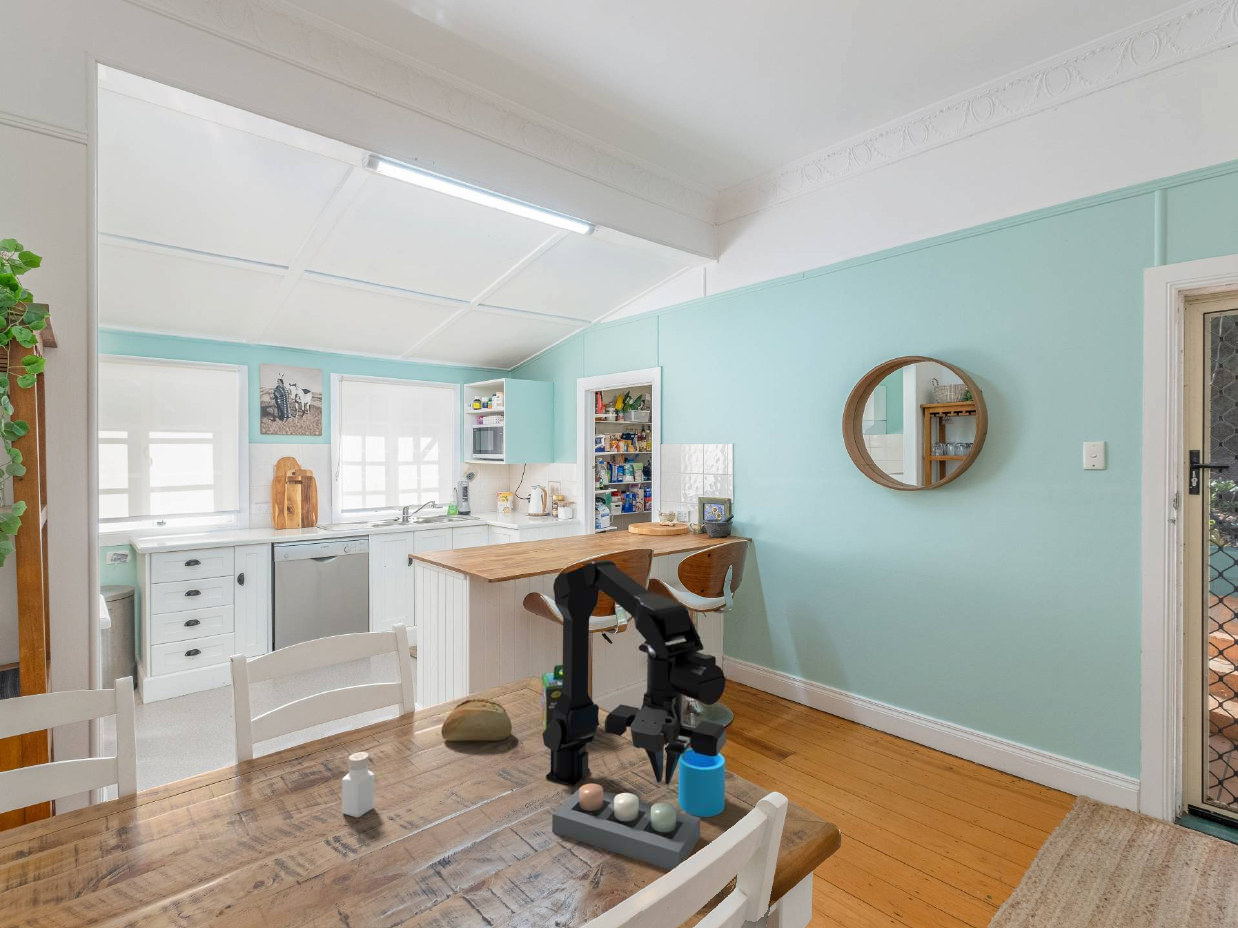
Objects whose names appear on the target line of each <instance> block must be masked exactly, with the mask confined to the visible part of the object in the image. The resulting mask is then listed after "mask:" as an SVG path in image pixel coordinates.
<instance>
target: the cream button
mask: <svg viewBox="0 0 1238 928" xmlns="http://www.w3.org/2000/svg"><path fill="white" fill-rule="evenodd" d="M616 795H617V796H615V798H614V816H615V817H616V818H617V819H619V820H621V821H632V820H635V819H636V818H637V817H638V812H639V800H640V799H639V797H638V796H637V795H636V794H634V793H629V792H622V793H619V794H616Z"/></svg>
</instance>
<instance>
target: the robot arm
mask: <svg viewBox="0 0 1238 928" xmlns="http://www.w3.org/2000/svg"><path fill="white" fill-rule="evenodd" d="M552 587H553V590H552V591H553V593H554V595H553V596H554V604H555V606H556V608H557V609H558V612H559V614H560V615H561V617H562V665H563V669H562V670H561V672H562V694H561V696H560V698H559V699H558V701H557V703H556V705H555V706H554V710H553V719H552V723H551V724H550V725H549V726H548V728H547V729H546V730H545V731H543V733H542V740H543V745H544V747H546V748H548V749H549V750H550V768H549V769H550V772H547V774H546V775H545V778H546V780H550V781H553V782H558V783H562V784H565V785H568V786H571V787H574V786H575V787H576V786H577V785H578V784H579V783H580V782H581V781H582V780H583V779H584V778H585V777H586V776H588V775H589V774H590V773H591V769H590V768H589V752H588V751H587V744H589V743H593V742H594V739H595V736H596V733H597V731H598V726H600V721H599V710H600V708H599V704H596V703H595V702H594V701H593V699H592V697H591V696H590V695H589V669H590V668H589V663H590V662H589V660H590V658H589V657H590V656H589V655H590V653H589V652H590V619H591V617H592V615H593V612H594V611H595V610H596V607H597V606H598V602H599V595H600V591H602V592H603V593H604V595H607V597H608V598H610V599H611V600H612V601H614V602H615V603H616V604H617V605H618V606H619V607H621V608H622V609H623V610H624V611H625V612H627V614H629V615H630V616H631V617H632V618H633V620H634V627H635V629H636V630H637V631H638V633H639V634H640V635H641V636H642V638H644V639H645V641H644V642H643V643H641V644H640V645H639V646H638V650H639V651H640V652H643V653H646V654H647V656H646V658H647V659H646V660H647V661H646V662H647V663H646V664H647V665H646V666H647V667H646V669H647V671H646V692H645V693H643V698H642V705H641V708H639V707H635V706H630V705H627V704H626V705H625V704H619V705H618V706H617V707H616V708H614V709H613V710H611V711H610V712H609V713H608V714H607V715H606V716H605V720H604V732H605V733H606V734H610V735H615V736H618V737H621V736H622V735H623V734H625V733H626V732H627V731H628V729H627V728H629V729H630V735H631V741H632V745H633V747H635V748H637V749H644V750H645V752H646V755H647V756H648V759H649V762H650V765H651V768H652V770H653V773H654V777H655V780H656V782H657V783H659V784H660V783H661V782H662V780H663V776H664V781H665V782H664V783H665V785H666V786H668V785H669V784H671V781H672V778H673V776H674V773H675V770H676V768H677V765H678V764H679V758H680V756H681V754H683V753H685V752H686V750H687V749H691V748H692V749H693V751H694V752H695V753H698V754H702V755H706V756H711V757H713V756H717V755H718V753H721V751H722V749H723V748H724V746H725V745H726V743H727V730H726V729H725V727H724V725H723V724H720V723H719V724H718V723H714V722H710V721H706V720H705V721H704V720H701V721H700V722H699V723H698V725H697V726H695V727H694V725H688V724H684V723H683V722H684V721H685V720H686V712H684V711H683V710H684V696H686V697H688V698H690V699H693V700H694V701H696V702H699V703H702V704H703V705H706V706H712V705H714V704H716V703H717V702H718V701H719V700H720V698H721V697H722V695H724V691H725V687H726V683H727V682H726V677H725V674H724V670H723V669H722V668H721V667H720V666H719V665H717V658H716V656H714V655H711V654H705V653H702V652H700V651H704V645H703V643H702V641H701V637H700V635H699V634H698V632H697V630H696V628H695V627H696V626H695V625H694V623H693V621H692V618H691V616H690V612H689V610H688V608H687V607H686V606H685V605H683V604H682V603H679V602H678V601H676V600H673V599H671V598H669V597H665V596H660V595H656V594H653V593H652V592H650V591H649V590H647V588H645V587H643V586H642V585H641V584H639V582H637V581H636V580H634V579H633V578H632V577H630V576H629V575H628V574H627V573H625V572H624V571H622V570H621V568H619V567H617V565H616V564H615V562H614V561H613V560H610V559H604V560H593V561H589V562H588V563H586V564H584V565H583V566H581V567H578V568H576V569H573V570H570V571H568V572H561V573H559V574H558V575H557V577H555V579H554V582H553V586H552ZM683 639H684V641H680V640H683ZM676 641H680V642H676ZM671 642H676V643H672V644H668V643H671ZM664 751H665V753H666V758H665V759H666V760H665V772H664V756H665V755H664ZM664 773H665V775H664Z"/></svg>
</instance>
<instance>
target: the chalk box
mask: <svg viewBox="0 0 1238 928" xmlns="http://www.w3.org/2000/svg"><path fill="white" fill-rule="evenodd" d="M562 670H563V664H558V665H556V664H555V666H554V667H553V672H545V673H542V674H541V716H542V717H541V723H542V726H543V729H544V731H545V730H546V729H547V728H548V726H549V725H550V724H551V723H552V719H553V710H554V706H555V705H556V703H557V701H558V699H559V698H560V696H561V694H562ZM544 731H543V732H544Z"/></svg>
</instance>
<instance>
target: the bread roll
mask: <svg viewBox="0 0 1238 928" xmlns="http://www.w3.org/2000/svg"><path fill="white" fill-rule="evenodd" d="M512 731H513V725H512V722H511V719H510V716H509V714H508V712H507V711H506V709H505V708H504V707H503V705H501V704H500V703H499V702H498V701H495V700H493V699H488V698H472V699H467V700H465V701H463V702H461V703H460V704H458V705H456V706H455V708H453V710H452V711H451V712H450V713H449V714H448V716H447V717H446V719H445V721H444V722H443V724H442V726H441V732H440V733H441V736H442V739H443V740H446V741H448V742H453V741H457V742H458V741H459V742H462V741H468V742H469V741H473V742H474V741H485V742H487V741H492V742H493V741H503V740H506V739H507V738H508V737H509V736H510V734H512Z"/></svg>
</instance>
